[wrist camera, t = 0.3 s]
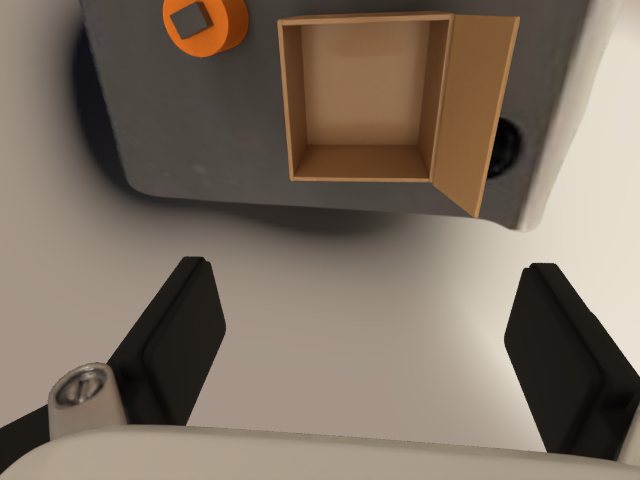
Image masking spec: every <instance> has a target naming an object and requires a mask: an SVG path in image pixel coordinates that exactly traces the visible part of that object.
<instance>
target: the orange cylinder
mask: <svg viewBox="0 0 640 480" xmlns="http://www.w3.org/2000/svg"><path fill="white" fill-rule="evenodd" d="M163 18H164V23H165V26H166V29H167V32H168V34H169V35H170V37H171V39H172V40H173V41H174V43H175V44H176V45H177V46H178V47H179V48H180V49H181V50H183V51H184V52H186V53H188V54H190V55H192V56H196V57H207V56H211V55H214V54H216V53H219V52H222V51H225V50H228V49H231V48H233V47H235V46H237V45H238V44H240V43H241V42H242V41H243V39H244V38H245V36H246V34H247V31H248V27H249V15H248V10H247V7H246V4H245V2H244V0H164V5H163Z"/></svg>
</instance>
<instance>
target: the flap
mask: <svg viewBox="0 0 640 480" xmlns="http://www.w3.org/2000/svg"><path fill="white" fill-rule="evenodd" d="M519 21H520V17H514V16H484V15H455V22H454V30H453V37H452V45H451V52H450V60H449V67H448V75H447V82H446V90H445V98H444V105H443V113H442V120H441V128H440V135H439V143H438V150H437V158H436V165H435V173H434V180H433V185H434V186H435V187H436V188H437V189H439V190H440V191H441V192H442V193H444V194H445V195H446V196H447V197H449V198H450V199H451V200H452V201H454V202H455V203H456V204H457V205H459V206H460V207H461V208H462V209H464V210H465V211H466V212H467V213H469V214H470V215H471V216H472V217H474V218H477V217H478V215H479V210H480V205H481V201H482V196H483V191H484V186H485V182H486V177H487V172H488V167H489V163H490V158H491V153H492V149H493V144H494V139H495V134H496V130H497V125H498V120H499V115H500V111H501V106H502V101H503V97H504V92H505V87H506V82H507V78H508V73H509V68H510V63H511V59H512V54H513V49H514V44H515V40H516V35H517V30H518V26H519Z"/></svg>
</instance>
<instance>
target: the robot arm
mask: <svg viewBox="0 0 640 480" xmlns="http://www.w3.org/2000/svg"><path fill="white" fill-rule="evenodd" d="M225 332H226V323H225V319H224V315H223V311H222V307H221V303H220V299H219V295H218V291H217V287H216V283H215V278H214V275H213V270H212V266H211V263H210V262H208V261H206V260H205V259H204V258H203V257H184V258H183V259H182V260H181V261H180V263H179V264H178V266H177V267H176V268H175V269H174V271H173V272H172V274H171V275H170V276H169V278H168V279H167V281H166V282H165V283H164V285H163V286H162V288H161V289H160V290H159V292H158V293H157V294H156V296H155V297H154V299H153V300H152V301H151V303H150V304H149V305H148V307H147V308H146V309H145V311H144V312H143V314H142V315H141V316H140V318H139V319H138V321H137V322H136V323H135V325H134V326H133V327H132V329H131V330H130V331H129V333H128V334H127V336H126V337H125V338H124V340H123V341H122V342H121V344H120V345H119V347H118V348H117V349H116V351H115V352H114V354H113V355H112V356H111V358H110V359H109V360H108V362H107V363H106V364H105V363H98V362H96V363H89V364H86V365H83V366H79V367H77V368H75V369H74V370H72V371H70V372H68V373H67V374H66V375H64V376H63V377H62V378H60V379H59V381H58V382H57V383H56V384H55V385H54V386H53V388H52V389H51V391H50V393H49V397H48V404H47V405H45V406H43V407H41V408H39V409H37V410H35V411H33V412H31V413H29V414H27V415H25V416H23V417H21V418H20V419H17V420H16V421H14V422H12V423H10V424H8V425H6V426H4V427H2V428H0V480H640V377H639V375H638V374H637V372H636V371H635V370H634V368H633V367H632V366H631V364H630V363H629V362H628V360H627V359H626V357H625V356H624V355H623V353H622V352H621V350H620V349H619V348H618V346H617V345H616V343H615V342H614V341H613V339H612V338H611V337H610V335H609V334H608V333H607V331H606V330H605V328H604V327H603V326H602V324H601V323H600V322H599V320H598V319H597V317H596V316H595V315H594V314H593V313H592V312H590V310H589V309H588V307H587V306H586V305H585V303H584V302H583V300H582V299H581V298H580V296H579V295H578V293H577V292H576V291H575V289H574V288H573V286H572V285H571V284H570V282H569V281H568V280H567V278H566V277H565V275H564V274H563V273H562V271H561V270H560V269H559V267H558V266H557V265H556V264H554V263H532V264H531V265H530V266H529V268H524V269H523V272H522V275H521V278H520V282H519V285H518V289H517V292H516V296H515V299H514V303H513V307H512V310H511V314H510V317H509V321H508V324H507V328H506V332H505V336H504V343H505V347H506V350H507V353H508V355H509V358H510V360H511V363H512V365H513V368H514V370H515V373H516V375H517V378H518V380H519V383H520V385H521V388H522V390H523V393H524V396H525V398H526V401H527V403H528V406H529V408H530V410H531V413H532V416H533V418H534V421H535V423H536V426H537V428H538V431H539V433H540V436H541V438H542V441H543V443H544V446H545V448H546V451H547V453H544V452H534V451H522V450H512V449H500V448H488V447H475V446H463V445H450V444H436V443H424V442H411V441H398V440H385V439H371V438H358V437H343V436H330V435H316V434H302V433H287V432H273V431H258V430H243V429H229V428H214V427H194V426H186V424H187V421H188V419H189V417H190V415H191V412H192V410H193V408H194V405H195V403H196V401H197V398H198V396H199V394H200V391H201V389H202V386H203V384H204V382H205V380H206V377H207V375H208V372H209V370H210V368H211V366H212V363H213V361H214V358H215V356H216V354H217V351H218V349H219V347H220V345H221V342H222V340H223V338H224V335H225Z"/></svg>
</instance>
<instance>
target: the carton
mask: <svg viewBox="0 0 640 480" xmlns="http://www.w3.org/2000/svg"><path fill="white" fill-rule="evenodd" d="M454 20H455V14H453V13H447V12H441V11H409V12H382V13H354V14H327V15H300V16H294V17H289V18H284V19H280V20H277V26H278V38H279V50H280V62H281V75H282V87H283V99H284V112H285V124H286V136H287V148H288V161H289V173H290V181H367V182H433V178H434V171H435V163H436V156H437V148H438V140H439V133H440V125H441V118H442V110H443V103H444V95H445V88H446V80H447V73H448V65H449V58H450V50H451V43H452V35H453V27H454Z"/></svg>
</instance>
